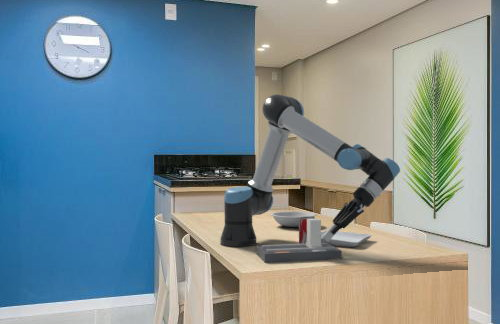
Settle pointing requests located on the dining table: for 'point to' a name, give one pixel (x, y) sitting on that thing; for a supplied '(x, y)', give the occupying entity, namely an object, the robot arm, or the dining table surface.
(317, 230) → the tab
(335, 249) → the switch board
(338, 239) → the salad plate
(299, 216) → the soup bowl
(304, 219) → the soda can
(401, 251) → the dining table surface
